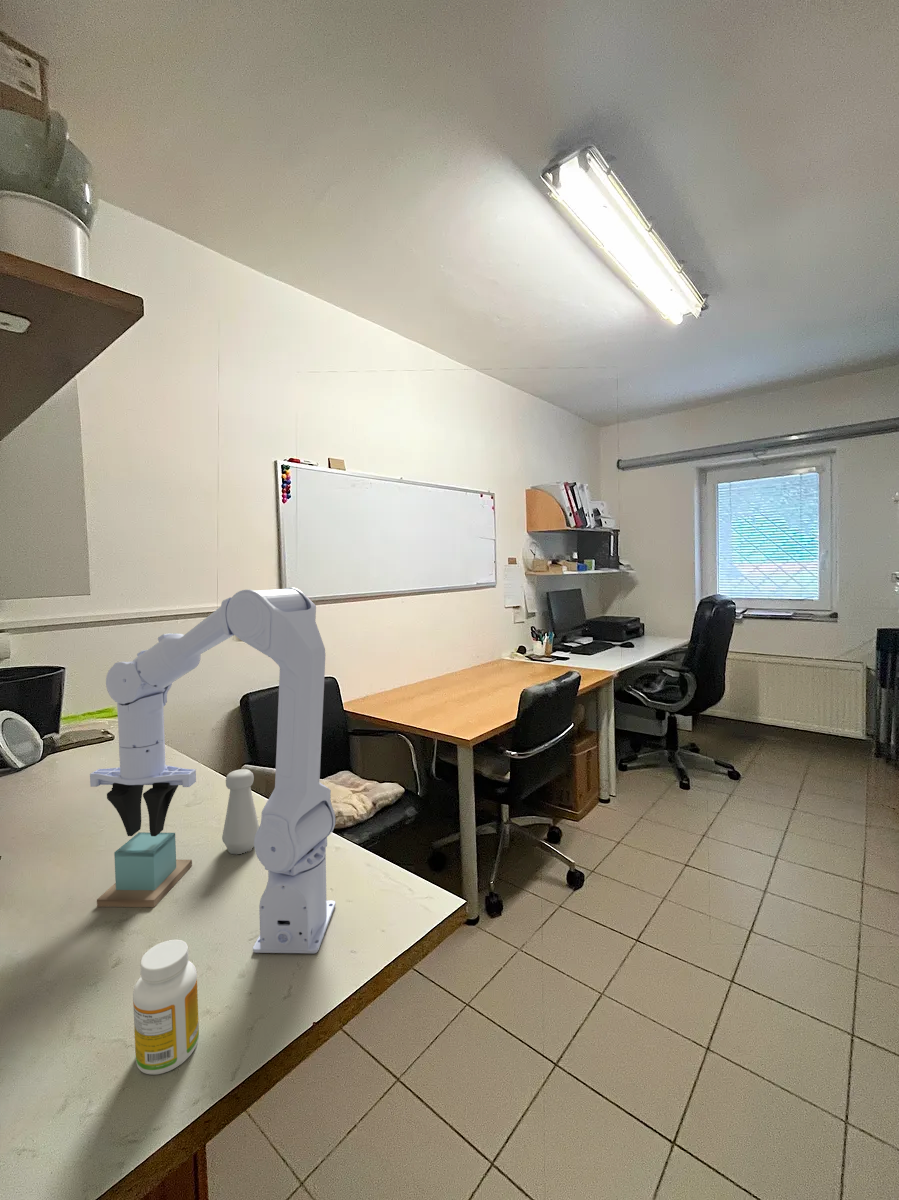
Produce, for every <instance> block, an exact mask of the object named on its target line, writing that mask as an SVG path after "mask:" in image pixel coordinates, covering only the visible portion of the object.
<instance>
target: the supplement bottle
mask: <svg viewBox="0 0 899 1200" xmlns="http://www.w3.org/2000/svg"><path fill="white" fill-rule="evenodd" d="M189 957H190V956H189V947H188V944H187V942H186V941H184V940H181V939H170V940H165V941H162V942H159V943H157V944H155V945H154V946H152V947H150V948H149V949H148V950H147V951H146V952H145V953H144V954H143V955H142V956H141V960H140V972H139V973H140V977H139V978H138V980H137V981H136V983H135V984H134V988H133V993H132V1004H133V1005H132V1006H133V1025H134V1029H133V1030H134V1048H135V1049H134V1050H135V1062H136V1066H137V1068H138V1069H139V1071H141V1073H144V1074H147V1075H162V1074H165V1073H167V1072H170V1071H172V1070H174V1069H176V1068H177V1067H179V1066H180V1065H182V1064H183V1063H184V1062H185V1061H187V1059H188V1058H190V1056H191V1055H192V1053H193V1052H194V1050H195V1049H196V1047H197V1045H198V1043H199V1039H200V1025H199V1024H200V1023H199V1022H200V1021H199V999H198V998H199V997H198V995H199V994H198V993H199V992H198V974H197V973H198V972H197V969H196V966H195V964H194V963H193V962H191V961H190V960H189Z"/></svg>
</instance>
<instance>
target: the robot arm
mask: <svg viewBox="0 0 899 1200" xmlns="http://www.w3.org/2000/svg"><path fill="white" fill-rule="evenodd" d="M316 605H317V604H315V603H314V602H313V601H312V600H311V598H309V597H308V596H307V594H305V593H304V592H303V591H302V590H300V589H298V588H297V587H284V588H276V589H275V588H274V589H259V590H258V589H256V590H255V589H242V590H239V591H237V592H236V593H234V594H233V596H231V597H228V598H226V599H223V600H222V601H221V604H220V606H219V607H218V608H217V609H215V610H214V611H213V612H212V613H210V614H209V615H207V617H206V618H204V619H203V620H201V621H200V622H199V623H198V624H197V625H195V626H193V628H191V629H190V630H189V631H187V632H186V633H185V634H184V633H171V632H170V633H169V632H168V633H163V634H161V635H160V636H158V638H157V640H158V642H157V643H155V644H154V645H152V646H150V648H148V649H144V650H140V651H139V652H138V653H137V654H136V657H135V658H134V659H133V660H130V661H117V662H114V664H113V665H112V666H110V668H109V670H108V672H107V673H106V677H105V687H106V690H107V693H108V695H109V696H110V698H111V699H112V700H113V701H114V702H115V703H116V704H117V706H116V707H117V727H118V728H117V729H118V733H117V734H118V754H119V755H118V757H119V767H108V768H98V769H97V770H94V771H92V772H91V773H90V774H89V785H90V787H93V788H95V787H99V786H100V785H101V786H105V785H106V786H109V785H110V786H112V787H111V790H110V791H108V792H107V793H106V799H107V801H109V802H110V804H111V805H112V806H113V807H114V808H115V810H116V811H117V813H118V816H119V817H120V819H121V821H122V824H123V827H124V828H125V832H126V835H127V837H134V836H135V835H136V833H137V832H138V833H139V831H141V827H142V798H143V799H144V802H145V805H146V807H147V808H146V809H147V812H148V813H147V814H148V821H149V824H148V827H149V833H150V834H151V836H157V835H158V834H159V833H162V832H163V831H164V828H165V822H166V817H167V813H168V810H169V807H170V804H171V801H172V800H173V798H174V795H175V793H176V791H177V789H178V787H179V786H182V788H190V787H192V786H193V785H194V784H195V783H197V771H196V770H197V769H195V768H184V767H178V766H173V765H167V764H166V744H165V743H166V740H165V715H164V714H165V713H164V711H165V710H164V707H165V706H166V704H167V703H168V692H169V691H170V689H171V688H172V685H173V683H175V682H176V681H177V680H178V679H180V678H182V677H183V676H185V675H186V674H189V673H190V672H191V671H193V670H195V669H196V668H197V667H198V666H199V664H200V662H201V656H202V655H203V653H205V652H207V651H209V650H211V649H212V648H214V647H216V646H218V645H219V644H221V643H223V642H225V641H227V640H228V639H230V638H232V637H233V636H235V637H236V638H237V639H239V640H240V641H242V642H244V643H245V644H246V645H248V646H249V647H252V648H254V649H255V650H256V651H258V652H260V653H262V654H263V655H265V656H266V657H268V658H270V659H272V661H274V662H275V664H276V665H278V668H279V680H278V681H279V682H278V700H277V701H278V704H277V706H278V707H277V726H276V727H277V728H276V730H277V731H276V732H277V733H276V753H275V754H276V755H275V774H274V775H275V776H274V778H275V780H274V789H273V790H272V793H271V795H270V796H269V798H268V800H267V801H266V803H265V805H264V807H262V811H261V815H260V817H261V819H260V825H259V828H258V830H257V832H256V834H255V838H254V847H253V849H254V852H255V855H256V858H257V859H258V861H259V863H261V865H262V866H263V867H264V870H266V871H268V873H267V875H268V876H267V877H268V878H267V883H266V887H265V889H264V891H263V893H262V895H261V897H260V900H259V905H258V907H259V909H258V911H259V912H258V913H259V914H258V915H259V935H258V936H257V939H256V941H255V942H254V945H253V946H252V952H253V953H259V954H260V953H261V954H262V953H264V954H265V953H266V954H267V953H268V954H269V953H270V954H275V953H276V954H316V953H317V952H319V949H320V947H321V944H322V942H323V939H324V936H325V934H326V931H327V928H328V926H329V923H330V921H331V918H332V915H333V913H334V911H335V908H336V901H335V900H330V899H329V900H328V899H327V860H326V859H327V856H326V855H327V853H326V849H327V847H328V837H329V836H330V835H331V833H333V832H334V828H335V827H336V814H335V810H334V807H333V805H332V802H331V800H332V799H331V789H330V788H329V787H327V786H326V785H325V784H323V783H322V782H321V781H320V777H321V759H322V757H321V756H322V755H321V754H322V738H323V737H322V736H323V735H322V734H323V714H324V696H325V695H324V693H325V692H324V691H325V674H326V673H325V670H326V648H325V645H324V641H323V639H322V637H321V633H320V630H319V627H318V625H317V621H316V617H317V616H316V615H317V606H316ZM144 786H152V787H150V788H149V789H147V790H146V791H144ZM143 791H144V792H143Z"/></svg>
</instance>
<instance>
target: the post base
mask: <svg viewBox="0 0 899 1200" xmlns="http://www.w3.org/2000/svg"><path fill="white" fill-rule="evenodd" d="M192 866H193V860H192V859H176V869H175V870H174V871H173V872H172V873H171V874H170V875H169V876H168V877H167V878H166V879H165V880H164V881H163V882H162V883H161V884H160V885H159V886H158V887H157V888H156V890H116V882H115V883H113V885H111V886H110V887H109V888H108V889H107V890H105V892H103V893H102V894H101V895H100V896H98V898H97V899H96V906H97V907H103V908H104V907H105V908H106V907H111V908H113V907H114V908H115V907H117V908H124V907H125V908H155V907H156V906H157V905H158V904H159V902H161V900H162V899H163V898H165V896H166V895H167V894H168V893H169V892H170V891H171V889H172V888H174V886H175V885H176V884H178V882H179V881H180V879H182V878H183V876H185V874H186V873H187V872H188V871H189V870H190V869H191V868H192Z"/></svg>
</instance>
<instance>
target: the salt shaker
mask: <svg viewBox="0 0 899 1200" xmlns="http://www.w3.org/2000/svg"><path fill="white" fill-rule="evenodd" d="M254 778H255V776H254V773H253V772H252V771H251V770H250V769H246V768H242V769H236V770H233V771H230V772H229V773H228V774H227V775H226V777H225V786H226V788H227V789H228V790H229V795H228V801H227V809H226V814H225V820H224V824H223V830H222V834H221V835H222V836H221V838H222V839H221V840H222V842H223V844H224V845H225V847H226V849H227V852H228V853H229V854H231V855H237V854H241V855H242V853H244V854H246V853H248V852H247V851H249V852H251V851H252V850H253V849H254V838H255V834H256V832H257V830H258V828H259V826H260V825H259V820H258V816H257V812H256V807H255V801H254V796H253V793H252V788H251V786H253V784H254ZM252 848H253V849H252ZM250 850H251V851H250ZM245 852H246V853H245Z"/></svg>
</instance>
